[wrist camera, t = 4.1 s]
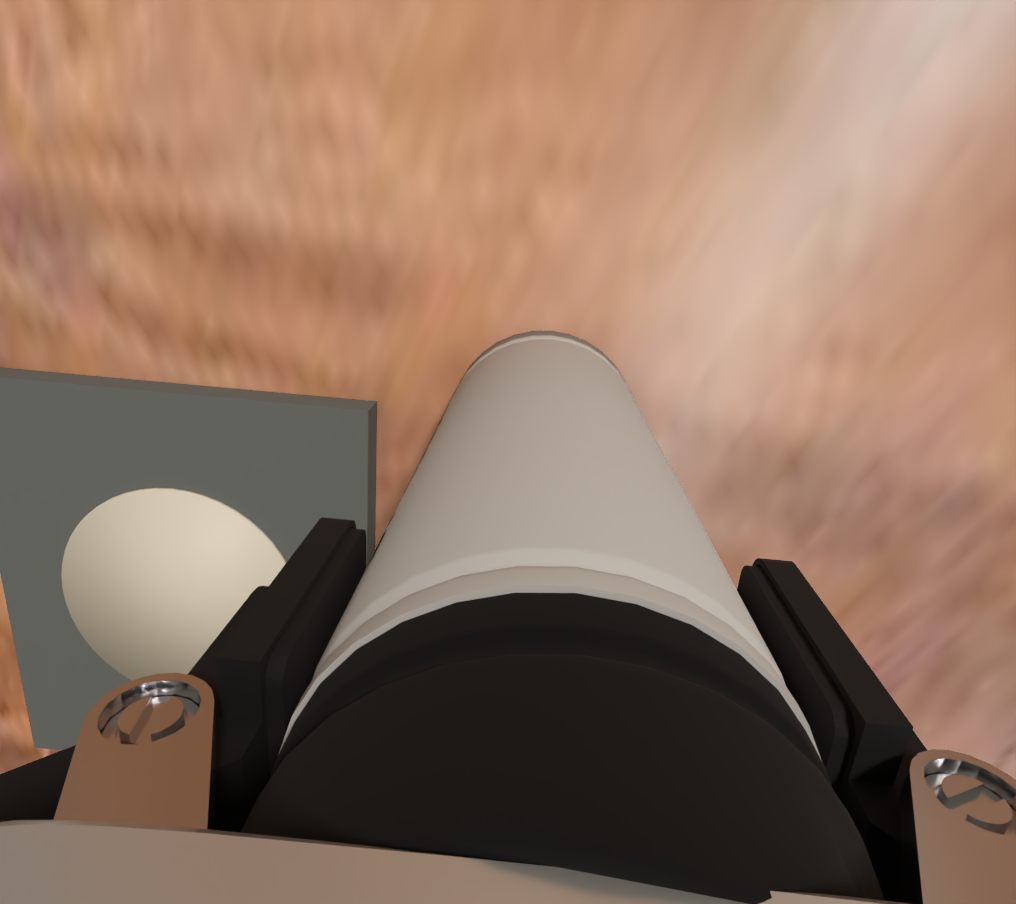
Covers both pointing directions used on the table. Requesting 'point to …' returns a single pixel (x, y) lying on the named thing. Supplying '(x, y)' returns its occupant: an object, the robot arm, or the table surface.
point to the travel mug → (560, 665)
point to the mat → (155, 520)
